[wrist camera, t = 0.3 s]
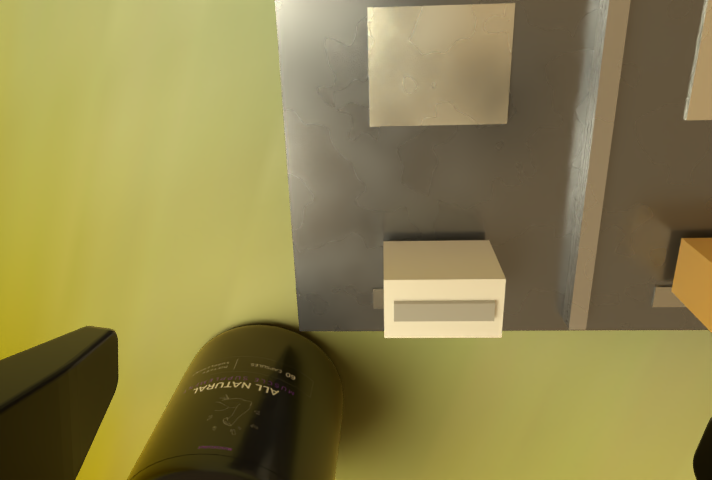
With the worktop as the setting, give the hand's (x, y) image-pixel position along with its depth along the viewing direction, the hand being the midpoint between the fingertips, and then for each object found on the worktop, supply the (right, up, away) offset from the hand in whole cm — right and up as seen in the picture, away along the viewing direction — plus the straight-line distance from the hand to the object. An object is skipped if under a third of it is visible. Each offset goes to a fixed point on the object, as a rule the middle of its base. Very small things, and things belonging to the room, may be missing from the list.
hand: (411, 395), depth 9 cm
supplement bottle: (-5, -4, +17) cm, 18 cm away
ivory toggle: (+2, +2, +12) cm, 13 cm away
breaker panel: (+7, +5, +13) cm, 15 cm away
